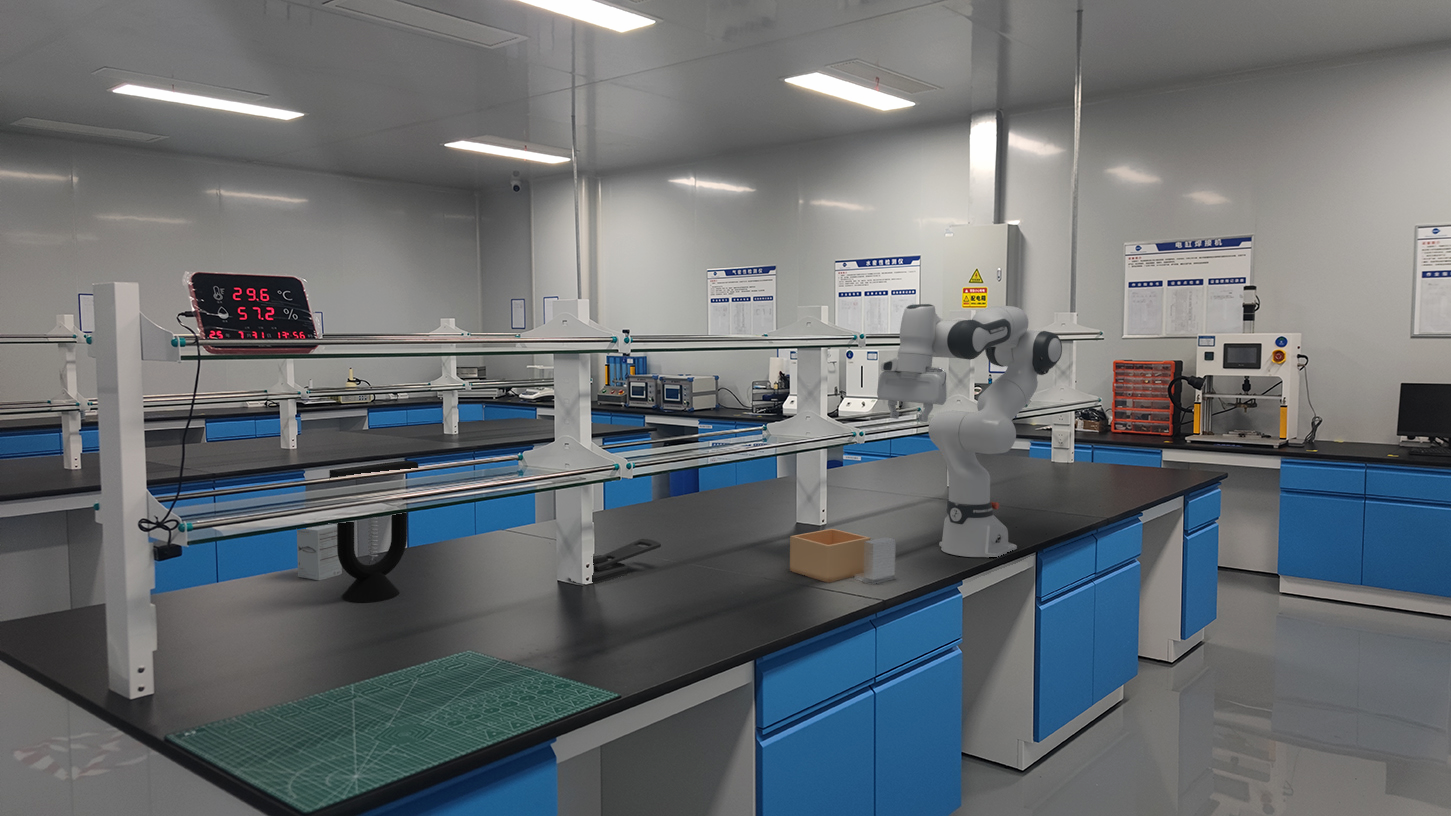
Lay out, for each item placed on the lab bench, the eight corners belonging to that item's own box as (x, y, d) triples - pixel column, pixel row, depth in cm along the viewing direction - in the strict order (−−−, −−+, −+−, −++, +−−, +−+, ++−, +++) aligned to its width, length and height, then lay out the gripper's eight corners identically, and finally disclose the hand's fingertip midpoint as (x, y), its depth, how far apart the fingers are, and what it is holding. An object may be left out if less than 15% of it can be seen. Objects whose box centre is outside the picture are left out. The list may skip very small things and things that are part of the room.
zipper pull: (664, 542, 231) (584, 559, 213) (664, 568, 231) (585, 586, 214) (642, 537, 237) (563, 552, 219) (642, 561, 238) (563, 579, 220)
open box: (831, 562, 238) (832, 528, 237) (870, 572, 227) (870, 537, 226) (789, 571, 228) (790, 536, 228) (827, 582, 218) (828, 546, 217)
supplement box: (296, 577, 220) (295, 526, 219) (322, 570, 227) (320, 521, 226) (318, 581, 217) (316, 529, 216) (343, 574, 224) (341, 524, 222)
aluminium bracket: (872, 584, 217) (873, 543, 216) (854, 579, 221) (855, 539, 220) (894, 579, 221) (895, 539, 221) (876, 574, 226) (877, 535, 225)
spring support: (352, 609, 195) (348, 472, 192) (318, 600, 201) (314, 467, 199) (430, 587, 212) (427, 461, 210) (396, 579, 219) (393, 457, 216)
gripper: (954, 369, 224) (949, 424, 224) (892, 366, 240) (886, 417, 240) (938, 366, 220) (932, 422, 220) (876, 363, 236) (870, 416, 236)
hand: (908, 420), depth 230 cm, fingers open, 8 cm apart
